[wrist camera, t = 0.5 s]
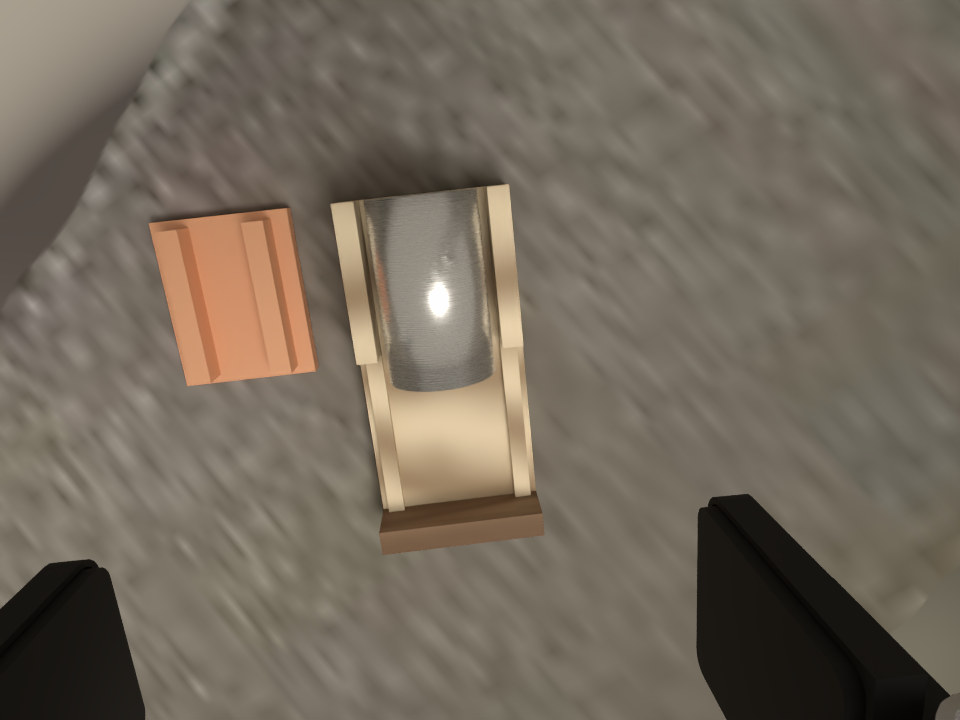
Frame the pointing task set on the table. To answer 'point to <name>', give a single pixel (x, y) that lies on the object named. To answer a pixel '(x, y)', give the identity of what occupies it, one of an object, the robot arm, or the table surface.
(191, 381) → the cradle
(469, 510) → the beige elongated piece
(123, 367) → the table surface
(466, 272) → the grey metal cylinder
